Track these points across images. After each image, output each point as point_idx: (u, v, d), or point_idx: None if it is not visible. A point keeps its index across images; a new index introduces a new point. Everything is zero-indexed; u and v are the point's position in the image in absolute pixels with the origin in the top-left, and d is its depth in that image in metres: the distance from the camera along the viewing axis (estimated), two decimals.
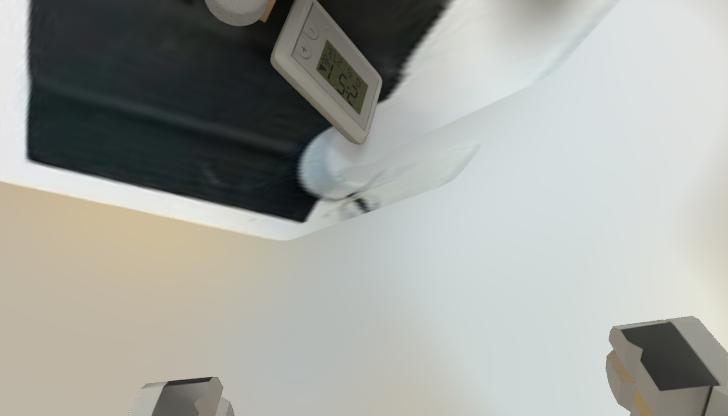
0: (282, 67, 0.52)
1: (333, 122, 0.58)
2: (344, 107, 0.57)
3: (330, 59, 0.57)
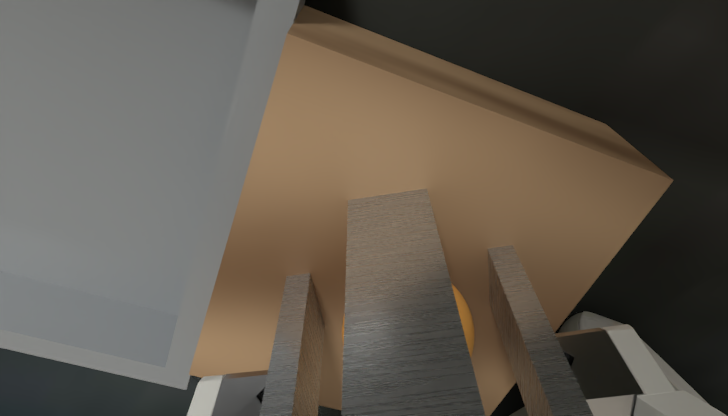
0: None
1: None
2: None
3: None
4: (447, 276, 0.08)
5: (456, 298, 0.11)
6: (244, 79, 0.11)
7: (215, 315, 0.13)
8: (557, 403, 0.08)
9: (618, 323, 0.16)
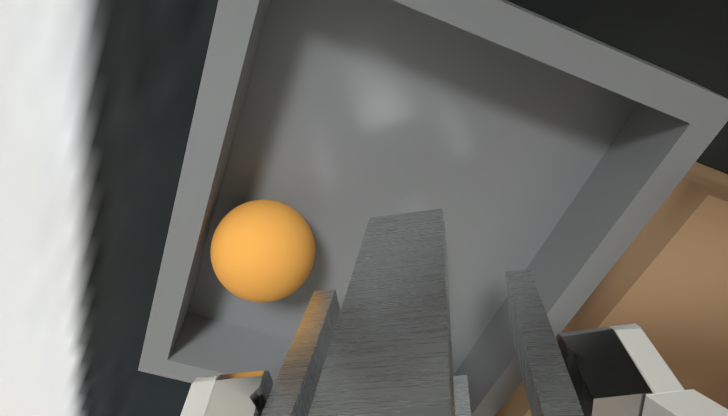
0: None
1: None
2: None
3: None
4: (443, 271, 0.09)
5: (231, 228, 0.13)
6: (627, 214, 0.13)
7: None
8: (548, 401, 0.08)
9: None
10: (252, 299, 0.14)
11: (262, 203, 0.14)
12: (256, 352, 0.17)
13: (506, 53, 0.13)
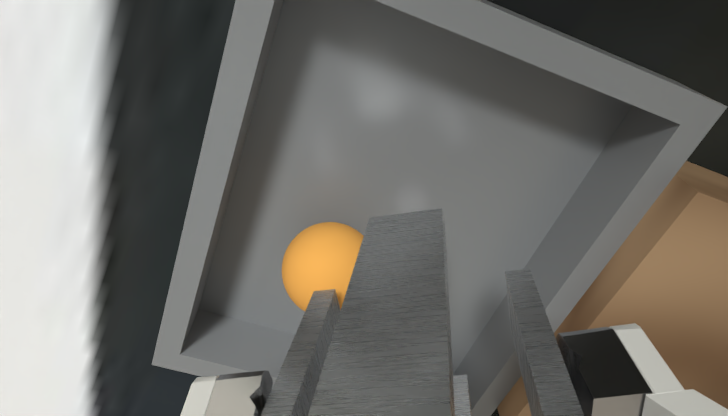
0: None
1: None
2: None
3: None
4: (443, 271, 0.09)
5: (348, 279, 0.14)
6: (621, 212, 0.14)
7: None
8: (548, 400, 0.08)
9: None
10: None
11: (335, 241, 0.14)
12: (265, 347, 0.18)
13: (505, 58, 0.14)
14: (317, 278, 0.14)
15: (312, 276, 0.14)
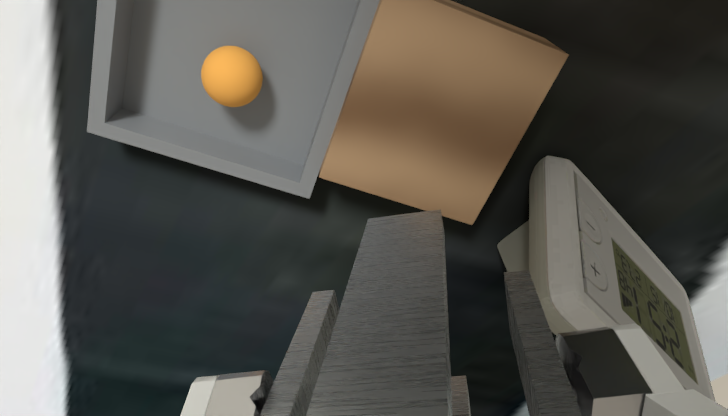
0: (568, 321, 0.22)
1: None
2: (679, 379, 0.26)
3: (627, 277, 0.27)
4: (440, 272, 0.09)
5: (261, 74, 0.25)
6: (361, 7, 0.23)
7: (337, 137, 0.25)
8: (546, 402, 0.08)
9: (567, 159, 0.28)
10: None
11: (245, 58, 0.24)
12: (165, 130, 0.27)
13: None
14: (252, 82, 0.24)
15: (250, 83, 0.24)
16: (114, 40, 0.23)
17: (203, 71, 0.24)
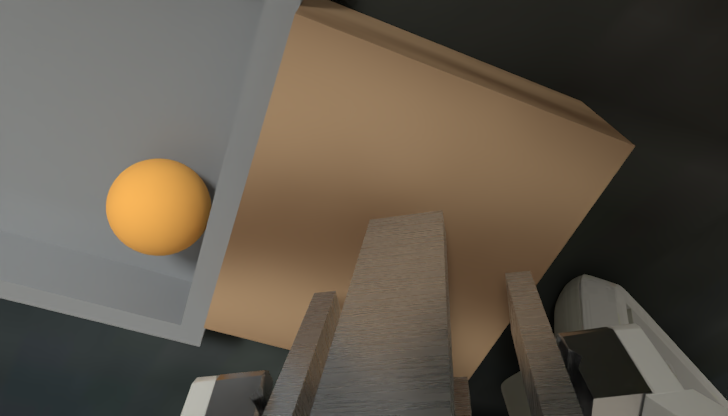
0: None
1: None
2: None
3: None
4: (443, 274, 0.09)
5: None
6: (256, 56, 0.12)
7: (228, 271, 0.14)
8: (549, 403, 0.08)
9: (615, 284, 0.18)
10: None
11: (185, 166, 0.15)
12: None
13: None
14: None
15: None
16: None
17: (198, 234, 0.15)
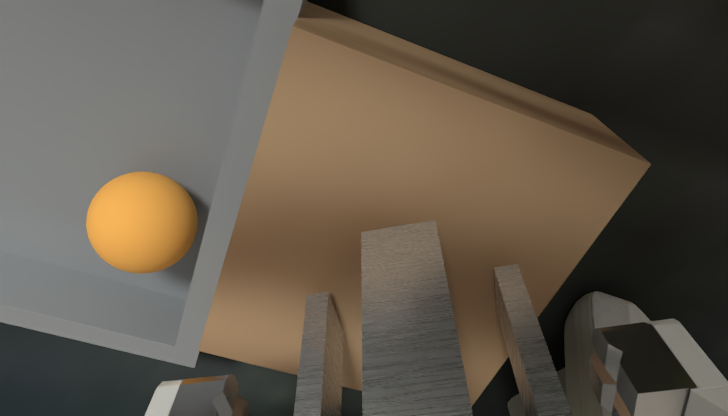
0: None
1: None
2: None
3: None
4: (453, 326, 0.09)
5: None
6: (252, 69, 0.12)
7: (223, 292, 0.14)
8: None
9: (628, 302, 0.17)
10: None
11: (173, 181, 0.14)
12: None
13: None
14: None
15: None
16: None
17: (178, 254, 0.14)
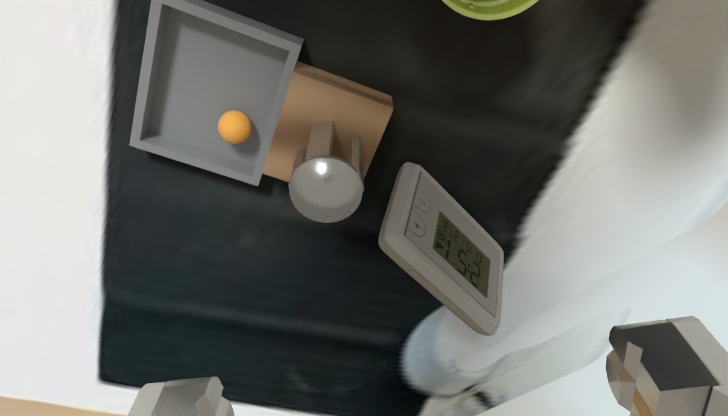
0: (394, 249, 0.41)
1: (456, 311, 0.45)
2: (469, 291, 0.45)
3: (445, 234, 0.46)
4: (330, 133, 0.40)
5: None
6: (281, 82, 0.42)
7: (271, 150, 0.44)
8: (353, 157, 0.40)
9: (417, 164, 0.48)
10: None
11: (246, 115, 0.44)
12: (174, 145, 0.46)
13: None
14: None
15: None
16: (147, 96, 0.43)
17: (237, 136, 0.44)
